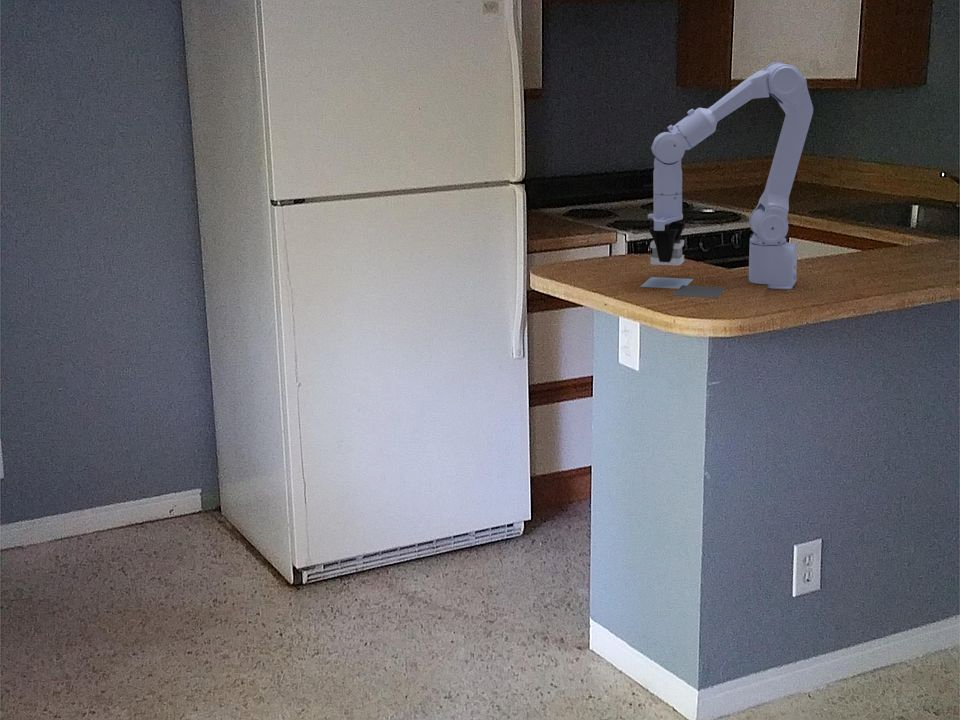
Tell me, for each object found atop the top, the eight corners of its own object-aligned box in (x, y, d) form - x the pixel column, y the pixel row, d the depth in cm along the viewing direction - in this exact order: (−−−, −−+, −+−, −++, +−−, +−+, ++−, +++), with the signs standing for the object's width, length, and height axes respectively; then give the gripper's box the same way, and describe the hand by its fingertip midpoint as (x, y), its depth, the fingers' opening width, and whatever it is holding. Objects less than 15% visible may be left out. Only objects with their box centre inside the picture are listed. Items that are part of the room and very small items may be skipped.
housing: (684, 261, 247) (684, 239, 246) (679, 265, 244) (679, 243, 242) (655, 260, 249) (655, 238, 248) (650, 264, 246) (650, 242, 245)
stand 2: (726, 291, 242) (726, 287, 242) (717, 301, 234) (717, 297, 234) (682, 289, 245) (682, 285, 245) (671, 299, 237) (671, 295, 237)
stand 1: (693, 282, 250) (693, 279, 250) (683, 292, 242) (683, 288, 242) (651, 280, 254) (651, 276, 253) (640, 290, 246) (640, 286, 245)
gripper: (657, 187, 250) (657, 251, 254) (638, 198, 238) (639, 266, 241) (691, 187, 248) (690, 253, 252) (674, 199, 235) (673, 267, 239)
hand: (667, 259), depth 246 cm, fingers closed on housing, 4 cm apart
